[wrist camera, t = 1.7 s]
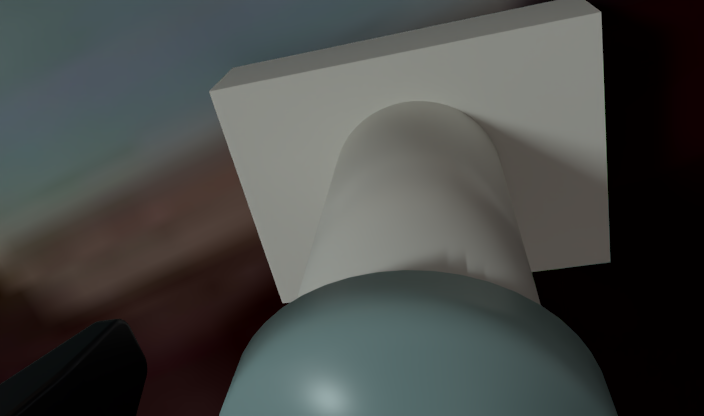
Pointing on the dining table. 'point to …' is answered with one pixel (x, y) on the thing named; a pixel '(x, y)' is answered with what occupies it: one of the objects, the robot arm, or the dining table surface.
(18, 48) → the dining table surface
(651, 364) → the dining table surface
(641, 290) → the dining table surface
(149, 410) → the dining table surface
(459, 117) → the hand stamp
